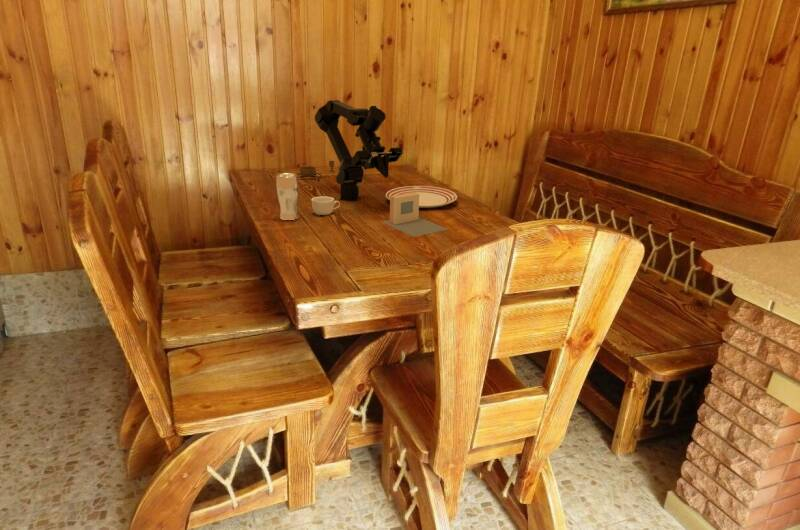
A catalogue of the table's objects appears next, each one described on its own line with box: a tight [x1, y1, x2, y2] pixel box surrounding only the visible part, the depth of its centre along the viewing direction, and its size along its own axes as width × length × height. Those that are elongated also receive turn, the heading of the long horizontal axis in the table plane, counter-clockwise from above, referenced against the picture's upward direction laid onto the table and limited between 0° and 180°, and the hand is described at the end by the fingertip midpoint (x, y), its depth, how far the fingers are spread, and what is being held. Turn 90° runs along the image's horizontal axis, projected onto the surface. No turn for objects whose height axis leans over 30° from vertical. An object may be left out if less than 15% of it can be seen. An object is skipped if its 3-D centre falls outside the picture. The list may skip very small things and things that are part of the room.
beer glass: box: [275, 172, 299, 221], centre depth 180 cm, size 7×7×15 cm
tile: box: [389, 192, 420, 224], centre depth 180 cm, size 3×10×9 cm, turn 126°
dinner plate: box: [385, 185, 458, 209], centre depth 206 cm, size 28×27×3 cm
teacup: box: [311, 195, 341, 216], centre depth 188 cm, size 10×8×5 cm
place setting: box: [295, 160, 335, 179], centre depth 242 cm, size 18×20×6 cm
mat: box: [382, 216, 449, 238], centre depth 177 cm, size 18×14×1 cm
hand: (386, 176), depth 185 cm, fingers closed
